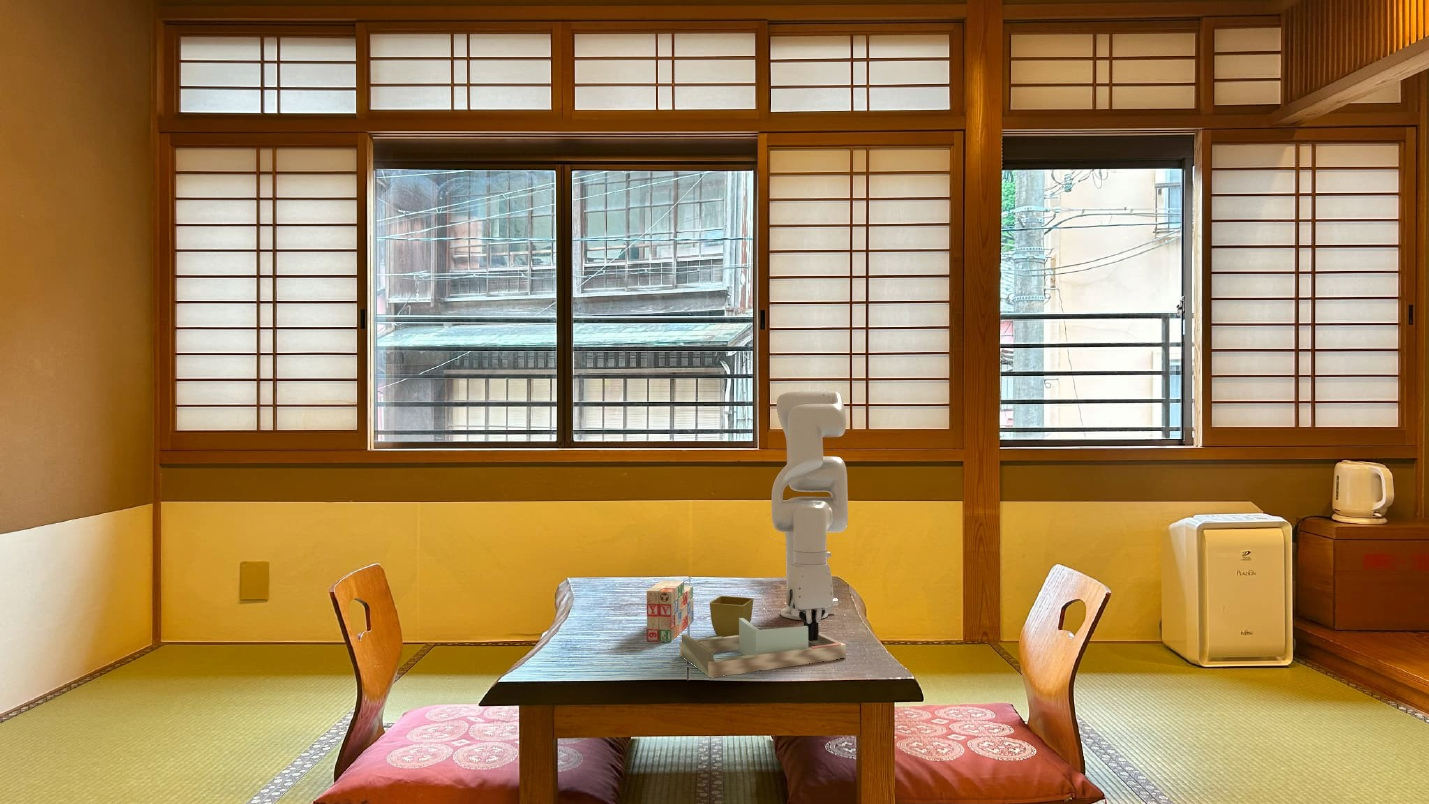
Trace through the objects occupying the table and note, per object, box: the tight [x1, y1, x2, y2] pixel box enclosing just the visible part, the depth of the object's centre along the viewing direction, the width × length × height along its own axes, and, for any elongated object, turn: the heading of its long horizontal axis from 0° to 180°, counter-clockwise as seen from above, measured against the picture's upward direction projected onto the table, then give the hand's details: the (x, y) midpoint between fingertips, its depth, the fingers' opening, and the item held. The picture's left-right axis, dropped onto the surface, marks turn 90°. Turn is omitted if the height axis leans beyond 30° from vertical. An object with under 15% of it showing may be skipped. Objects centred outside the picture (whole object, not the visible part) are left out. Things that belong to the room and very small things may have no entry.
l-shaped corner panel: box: [738, 618, 808, 656], centre depth 184 cm, size 12×12×8 cm
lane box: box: [679, 632, 847, 678], centre depth 183 cm, size 32×17×5 cm, turn 114°
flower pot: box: [709, 595, 754, 637], centre depth 200 cm, size 9×9×9 cm
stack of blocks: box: [646, 580, 695, 643], centre depth 208 cm, size 21×6×12 cm, turn 167°
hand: (811, 639), depth 188 cm, fingers closed
